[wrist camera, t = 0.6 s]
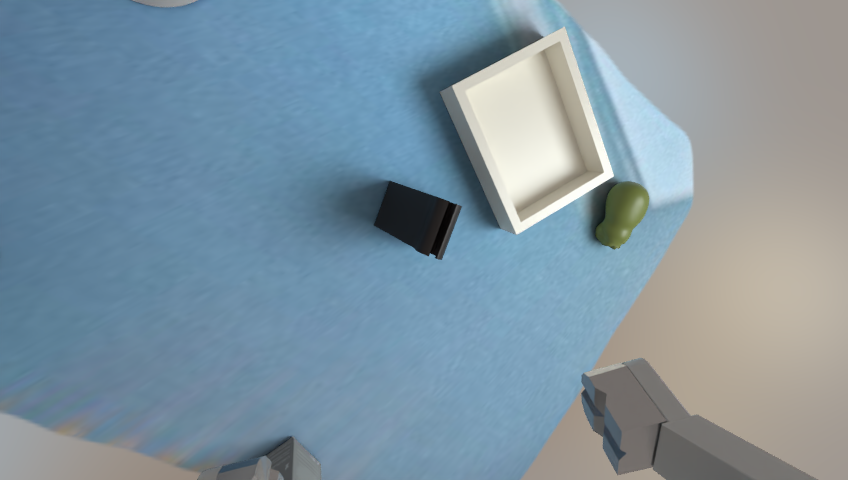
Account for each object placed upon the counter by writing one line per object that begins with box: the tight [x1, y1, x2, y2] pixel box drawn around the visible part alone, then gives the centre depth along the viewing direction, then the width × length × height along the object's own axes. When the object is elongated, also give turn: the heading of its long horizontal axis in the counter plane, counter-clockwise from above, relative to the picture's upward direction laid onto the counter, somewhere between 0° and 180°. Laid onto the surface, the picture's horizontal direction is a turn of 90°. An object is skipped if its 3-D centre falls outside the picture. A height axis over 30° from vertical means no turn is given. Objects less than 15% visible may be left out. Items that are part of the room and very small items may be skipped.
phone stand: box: [374, 181, 462, 260], centre depth 46 cm, size 9×6×12 cm, turn 69°
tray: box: [440, 27, 614, 235], centre depth 52 cm, size 20×16×4 cm
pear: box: [595, 181, 649, 250], centre depth 58 cm, size 6×5×10 cm
